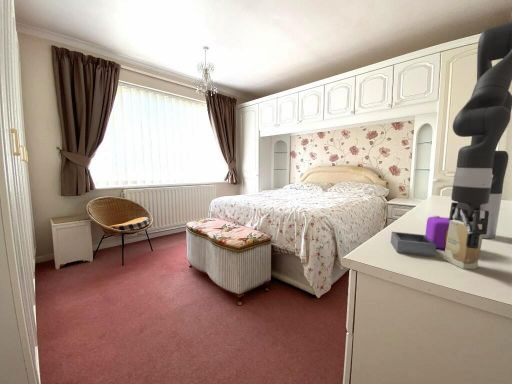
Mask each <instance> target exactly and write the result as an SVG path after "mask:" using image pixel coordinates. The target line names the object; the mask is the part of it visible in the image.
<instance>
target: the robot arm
mask: <svg viewBox="0 0 512 384" xmlns="http://www.w3.org/2000/svg"><path fill="white" fill-rule="evenodd" d="M477 42H478V44H477V50H476V51H477V52H476V53H477V54H476V55H477V56H476V83H475V85H474V87H473V90H472V93H471V97H470V98H469V99H468V100H467V102H466V103H465V105H464V106H463V107H462V108H461V109H460V110H459V112H458V113H457V114H456V116H455V117H454V120H453V122H452V131H453V133H454V134H455V135H456V136H458V137H460V138H461V137H462V138H470V137H471V138H470V139H471V141H470V144H469V145H465V146H462V147H461V148H459V150H458V153H457V160H456V168H455V172H454V175H453V180H452V181H453V182H452V190H451V198H450V199H451V201H452V202H451V205H450V211H449V217H448V218H449V221H450V220H462V221H463V223H464V225H465V226H466V227H467V231H468V234H467V241H466V246H467V247H468V248H474V249H477V248H478V243H479V236H480V235H482V234H483V238H482V239H495V238H496V234H497V229H498V228H497V227H498V223H499V221H498V220H499V215H500V210H501V209H500V208H501V202H502V196H503V188H504V182H505V177H506V173H507V168H508V165H509V153H508V152H507V151H506V150H497V147H498V144H499V143H500V140H501V138H502V136H503V134H504V132H505V131H506V129H507V128H508V126H509V124H510V121H511V114H512V113H511V112H512V94H511V91H510V86H511V84H512V21H511V22H507V23H503V24H500V25H496V26H493V27H490V28H486V29H484V30H483V31H482V33H481V34H480V35H479V38H478V41H477ZM497 60H499V61H497ZM493 61H497V63H496V64H494V65H493ZM471 226H472V227H471ZM481 226H482V229H481Z"/></svg>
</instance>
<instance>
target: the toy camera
mask: <svg viewBox="0 0 512 384" xmlns="http://www.w3.org/2000/svg"><path fill="white" fill-rule="evenodd" d="M449 223H450V221H449V217H443V216H441V217H440V215H435V214H434V215H432V216H429V217H427V219H426V226H425V234H424V235H426V236H427V237H428V238H429V239H430V240H431V241H433V242H434V243H435V244H436V249H441V250H445V248H446V242H447V236H448V229H449Z"/></svg>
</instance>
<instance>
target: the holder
mask: <svg viewBox="0 0 512 384" xmlns="http://www.w3.org/2000/svg"><path fill="white" fill-rule="evenodd" d="M390 244H391V245H392V247H393V249H394V250H395V252H396V253H399V254H405V255H413V256H421V257H429V258H436V254H437V253H436V250H437V248H436V244H435V243H434V242H433V241H431V240H430V239H429V238H428V237H427V236H426V235H425V234H420V233H419V234H418V233H409V232H399V231H391V235H390Z"/></svg>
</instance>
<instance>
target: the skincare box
mask: <svg viewBox="0 0 512 384" xmlns="http://www.w3.org/2000/svg"><path fill="white" fill-rule="evenodd" d="M471 227H472V226H471ZM481 229H482V226H481ZM467 234H468V231H467V227H466V226H465V225H464V223H463V221H462V220H450V223H449V229H448V236H447V242H446V248H445V249H444V257H443V260H444V261H447V262H449V263H450V264H452V265H454V266H457V267H459V268H460V269H463V270H470V269H471V270H472V269H473V270H475V269H478V265H479V259H480V256H481V255H480V253H481V248H482V244H483V243H482V242H483V239H484V238H483V234H482V235H480V236H479V243H478V248H477V249H474V248H468V247H467V246H466V241H467Z"/></svg>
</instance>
